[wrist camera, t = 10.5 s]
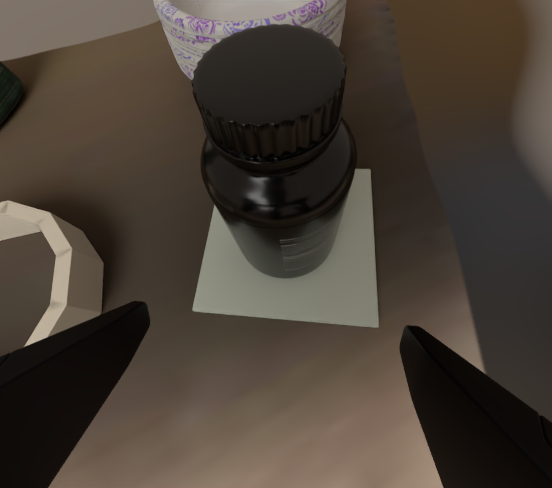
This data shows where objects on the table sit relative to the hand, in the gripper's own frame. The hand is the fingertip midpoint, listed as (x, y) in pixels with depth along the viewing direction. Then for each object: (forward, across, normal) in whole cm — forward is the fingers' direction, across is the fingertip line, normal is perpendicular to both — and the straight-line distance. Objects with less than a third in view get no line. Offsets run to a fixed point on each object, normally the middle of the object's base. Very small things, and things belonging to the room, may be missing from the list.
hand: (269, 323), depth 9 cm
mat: (+11, 0, +1) cm, 11 cm away
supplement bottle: (+10, 0, +1) cm, 11 cm away
